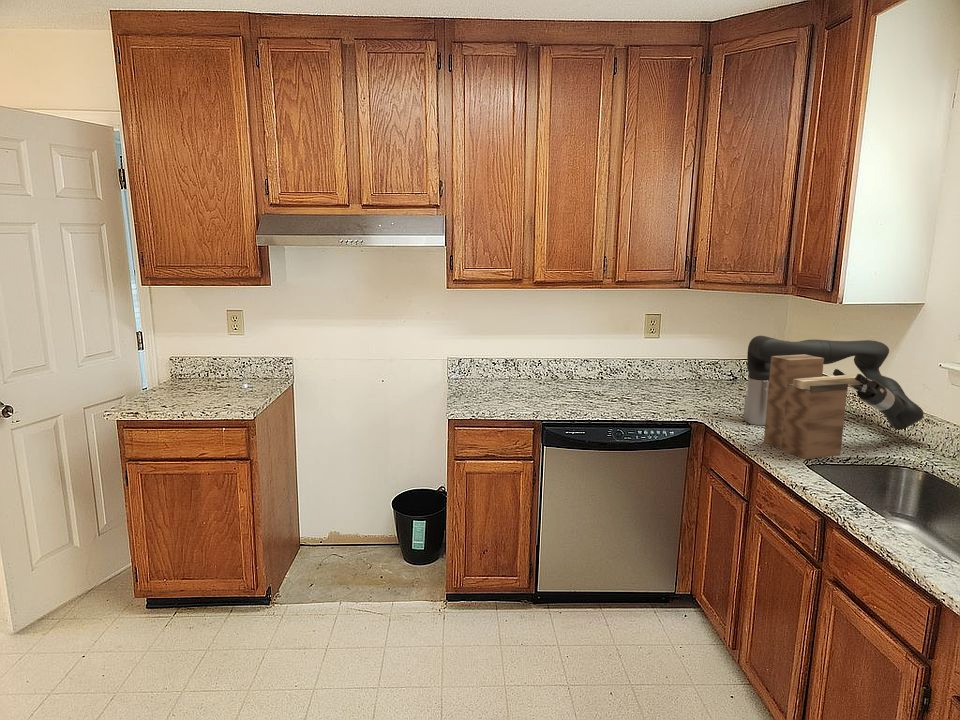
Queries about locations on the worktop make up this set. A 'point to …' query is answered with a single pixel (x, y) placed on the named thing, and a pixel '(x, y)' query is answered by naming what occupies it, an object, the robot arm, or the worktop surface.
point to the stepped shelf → (804, 409)
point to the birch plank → (824, 381)
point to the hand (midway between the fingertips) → (845, 373)
